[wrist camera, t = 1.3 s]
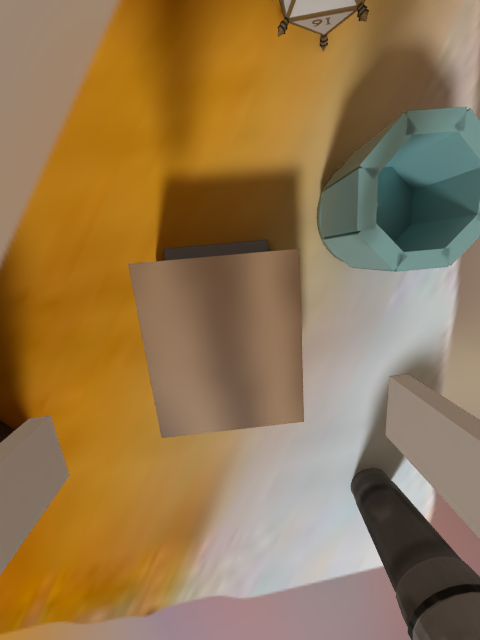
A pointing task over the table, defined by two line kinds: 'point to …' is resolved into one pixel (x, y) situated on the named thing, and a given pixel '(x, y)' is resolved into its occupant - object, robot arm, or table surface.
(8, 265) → the table surface
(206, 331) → the brown wooden block
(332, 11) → the game die
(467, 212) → the bowl
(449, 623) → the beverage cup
